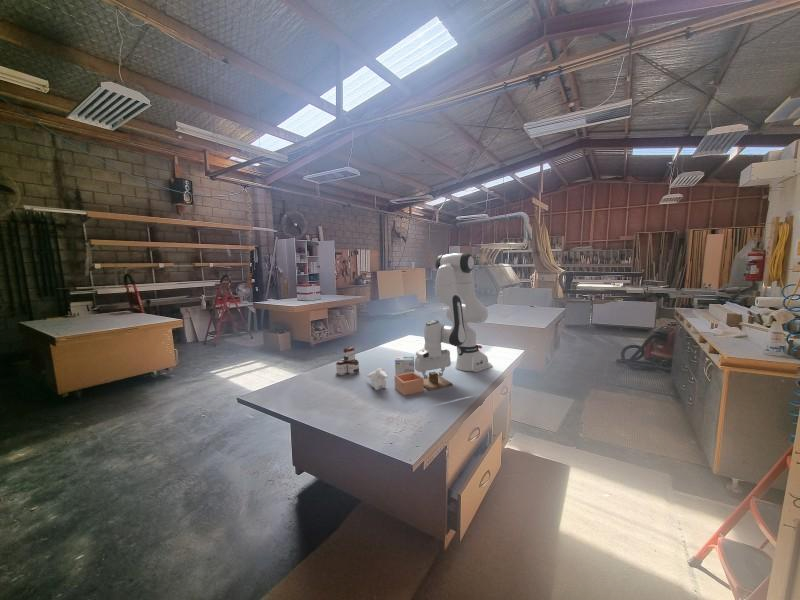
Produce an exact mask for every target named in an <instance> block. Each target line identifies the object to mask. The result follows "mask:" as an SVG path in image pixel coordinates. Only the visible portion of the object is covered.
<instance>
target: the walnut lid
mask: <svg viewBox="0 0 800 600" xmlns="http://www.w3.org/2000/svg"><path fill="white" fill-rule="evenodd" d="M422 378H423V382H424V387H425V388H426V389H428V390H430V391H433V390H432V389H435V390H438V389H437V388H439V389H442V388H441V387H444V388H447V387H446V386H448V387H451V386H450V385H452V386H453V383H452V381H449V380H448V379H446V378H444V377H443V376H439V372H436V371H431V372H428V377H427V379H424V377H422ZM425 388H424V389H425ZM426 389H425V390H426ZM428 390H427V391H428Z"/></svg>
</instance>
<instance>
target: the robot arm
mask: <svg viewBox="0 0 800 600" xmlns="http://www.w3.org/2000/svg"><path fill="white" fill-rule="evenodd" d="M474 266H475V258H474V256H473V254H471V253H469V252H468V253H467V252H464V253H463V252H455V253H454V252H453V253H447V254H445V253H444V254H440V255H438V256H437V258H436V260H435V269H436V276H435V283H434V284H435V285H434V286H435V287H434V292H435V297H436V299H438V300H439V301H440V302H441V303H443V304H445V305H446V306H447V307H446V310H445V315H446V317H447V319H448V321H450V322H451V323H452V325H448V324H443V323H441V322H440V321H439V320H437V319H432V320H428V321H427V322H425V324H424V328H423V330H424V332H423V336H424V337H423V340H424V345H423V346H424V347H423V348H421V349H419V350H417V351H416V352H415V355H416V356H415V358H414V371H417V373H421V374H422V376H423V378H424V379H427V377H429V375H427V374H426V373H427V371H432V370H433V371H434V370H438V369H440V371H439V372H438V375H439V376H441V377H443V376H444V372H445V370H446V368H448V367H451V365H452V362H451V351H450V350H449V349H446V348H445V349H442V343H443V344H447V345H451V346H453V347H456V352H457V353H456V355H457V356H456V363H455V366H454V367H455V368H456V369H457V370H459V371H463V372H464V371H465V372H474V373H476V372H482V371H484V370H487V369H489V368H492V367H493V364H492V363H490V362H489V358H488V356H487V355H486V354H485V353H484V352H482V351H481V350H482V348H483V346H482V345H481V344H477V333H476V331H475V329H474V328H472V327H470V323H471V324H472V323H473V324H481V323H484V322H486V320H488V317H489V310H488V308H487V307H486V306H485V305H483V304H482V303H481V302H480V301H479V299H478V297H477V295H476V291H475V285H474V275H473V274H474V273H473V270H474ZM462 302H463V303H462Z"/></svg>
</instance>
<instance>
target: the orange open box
mask: <svg viewBox="0 0 800 600" xmlns="http://www.w3.org/2000/svg"><path fill="white" fill-rule="evenodd" d="M423 378H424V377H422V376H420V375H418V374H417V373H416V372H415V371H414V372H411V373H406V374H401V375H396V374H395V375H394V388H395V389H396V390H397V391H398V392H399V393H400V394H401V395H402V396H407V395H412V394H417V393H421V392H424V391H425V390H424V389H425V388H424V382H423Z"/></svg>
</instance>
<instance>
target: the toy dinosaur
mask: <svg viewBox="0 0 800 600" xmlns="http://www.w3.org/2000/svg"><path fill="white" fill-rule="evenodd" d="M365 376H366V377H367V378H369V379H370V383H371V384H370V386H371V387H372V388H374V390H375V391H379V390H380V389H381V388H382V389H386V387H387V381H386V378H388V377H389V376H388V375H387V373H386V370H385V369H384V368H382V367H380V368H377V369H376V370H373V371H371V372H370V373H367V375H366V374H365ZM380 387H381V388H380Z"/></svg>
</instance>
